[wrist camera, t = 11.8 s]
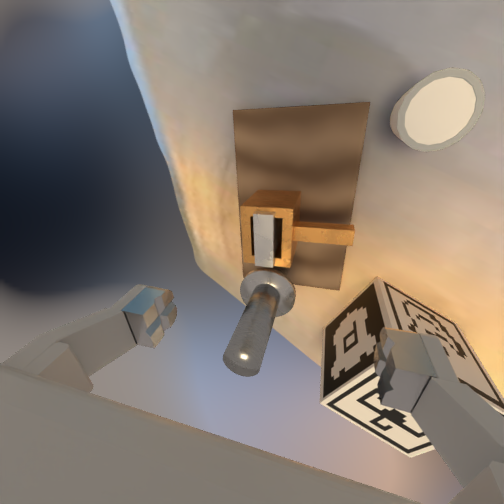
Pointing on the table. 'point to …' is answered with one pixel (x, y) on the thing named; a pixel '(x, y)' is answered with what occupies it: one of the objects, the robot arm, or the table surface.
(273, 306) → the ringlock node
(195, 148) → the table surface
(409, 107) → the white short cylinder
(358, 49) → the table surface
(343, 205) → the base board
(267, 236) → the wedge pin
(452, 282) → the table surface
